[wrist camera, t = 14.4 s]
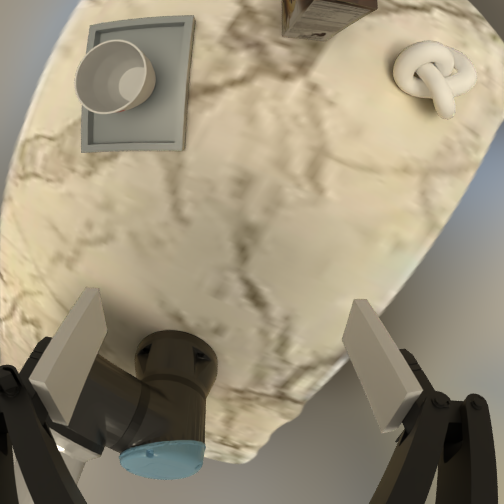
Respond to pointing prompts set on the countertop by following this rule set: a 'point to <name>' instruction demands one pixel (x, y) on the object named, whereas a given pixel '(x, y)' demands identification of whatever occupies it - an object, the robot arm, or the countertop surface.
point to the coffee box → (322, 17)
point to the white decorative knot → (435, 74)
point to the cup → (114, 77)
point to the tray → (163, 96)
